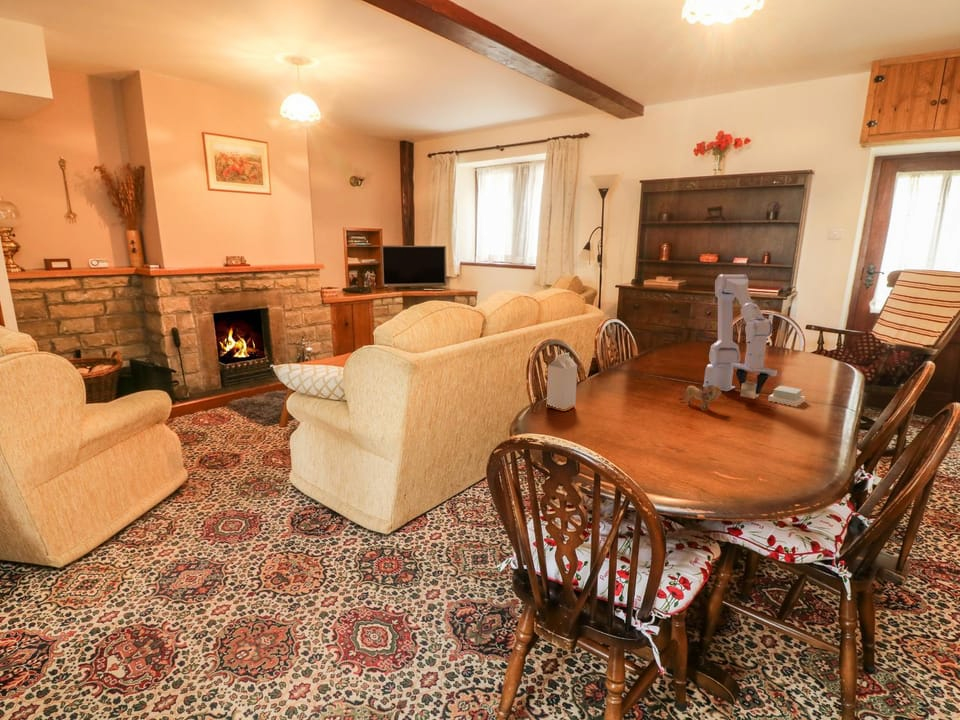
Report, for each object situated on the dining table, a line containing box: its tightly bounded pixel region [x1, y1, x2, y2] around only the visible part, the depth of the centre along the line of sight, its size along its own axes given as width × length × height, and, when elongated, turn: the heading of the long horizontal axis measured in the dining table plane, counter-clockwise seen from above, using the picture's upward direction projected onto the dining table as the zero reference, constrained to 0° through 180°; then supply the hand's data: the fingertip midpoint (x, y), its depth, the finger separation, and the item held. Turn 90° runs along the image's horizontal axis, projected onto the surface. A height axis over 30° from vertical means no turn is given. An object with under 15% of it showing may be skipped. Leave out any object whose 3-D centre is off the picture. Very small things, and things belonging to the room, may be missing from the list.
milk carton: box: [546, 352, 578, 409], centre depth 167 cm, size 7×7×19 cm
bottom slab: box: [767, 393, 806, 408], centre depth 178 cm, size 9×9×2 cm
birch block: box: [740, 380, 760, 399], centre depth 174 cm, size 4×4×4 cm
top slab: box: [772, 385, 803, 400], centre depth 177 cm, size 7×7×2 cm
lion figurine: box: [678, 385, 722, 411], centre depth 171 cm, size 15×5×9 cm, turn 35°
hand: (750, 391), depth 174 cm, fingers closed on birch block, 4 cm apart
